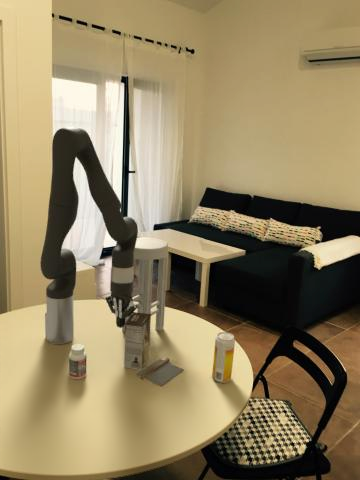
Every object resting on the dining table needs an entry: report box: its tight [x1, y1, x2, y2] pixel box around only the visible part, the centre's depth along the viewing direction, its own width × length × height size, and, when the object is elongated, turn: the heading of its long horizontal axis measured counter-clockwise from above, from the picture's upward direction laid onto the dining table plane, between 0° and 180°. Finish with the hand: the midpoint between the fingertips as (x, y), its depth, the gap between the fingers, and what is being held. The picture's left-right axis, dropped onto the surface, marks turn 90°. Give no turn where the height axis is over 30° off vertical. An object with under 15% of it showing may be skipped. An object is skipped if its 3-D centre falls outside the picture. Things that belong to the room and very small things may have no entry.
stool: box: [121, 236, 169, 333], centre depth 168 cm, size 16×16×35 cm
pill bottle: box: [68, 343, 87, 380], centre depth 140 cm, size 5×5×10 cm
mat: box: [136, 358, 184, 387], centre depth 145 cm, size 10×12×1 cm
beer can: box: [211, 331, 236, 384], centre depth 142 cm, size 6×6×15 cm
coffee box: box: [123, 311, 152, 371], centre depth 149 cm, size 9×6×16 cm
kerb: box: [140, 357, 170, 381], centre depth 146 cm, size 1×14×1 cm, turn 146°
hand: (120, 326), depth 151 cm, fingers closed
